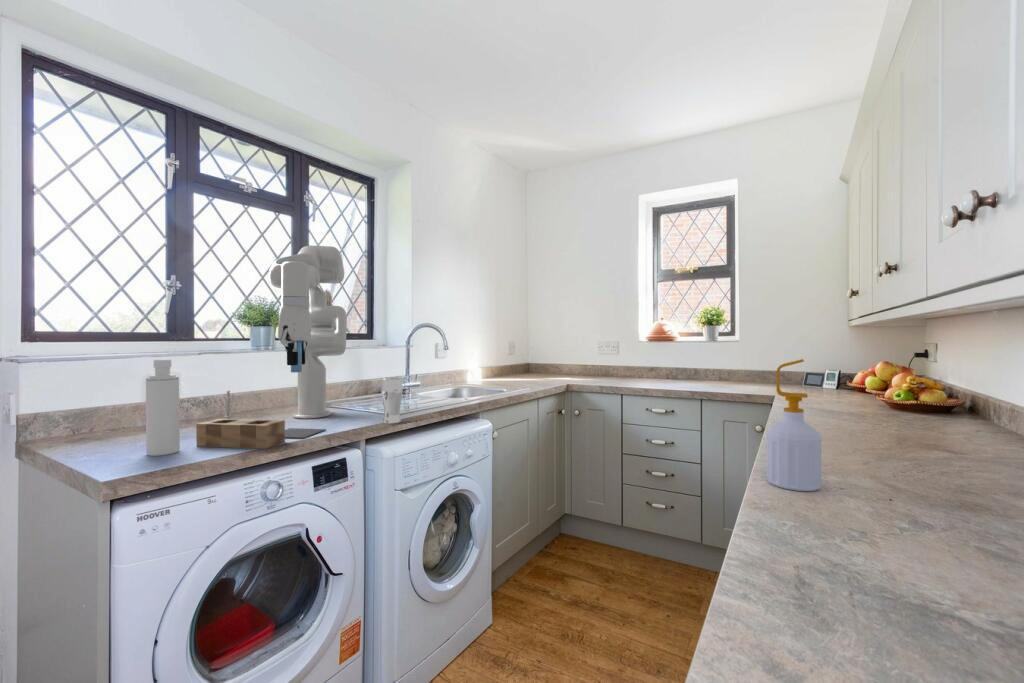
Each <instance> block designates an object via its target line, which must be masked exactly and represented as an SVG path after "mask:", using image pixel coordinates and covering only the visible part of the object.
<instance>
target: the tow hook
mask: <svg viewBox="0 0 1024 683" xmlns="http://www.w3.org/2000/svg"><path fill="white" fill-rule="evenodd" d="M230 392H231V391H230V390H227V391H226V397H225V413H224V414H225V416H224V419H231V397H230V396H231V393H230Z"/></svg>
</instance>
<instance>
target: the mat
mask: <svg viewBox="0 0 1024 683" xmlns="http://www.w3.org/2000/svg"><path fill="white" fill-rule="evenodd" d="M325 431H327V430H326V428H300V427H299V428H297V427H295V428H294V427H293V428H292V427H291V428H285V439H293V440H294V439H298V440H304V439H307V438H309V437H312V436H315V435H317V434H321V433H323V432H325Z"/></svg>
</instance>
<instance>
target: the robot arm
mask: <svg viewBox="0 0 1024 683" xmlns="http://www.w3.org/2000/svg"><path fill="white" fill-rule="evenodd" d="M268 279H269V282H270V283H271V285H272V286H273V287H274V288H276V289H277V288H278V289H281V307H280V310H279V314H278V324H277V325H278V326H277V338H278V340H279V342H280V344H281V345H282V346H283V347H284V348H285V352H286V365H287V366H291V365H298V352H296V349H297V341H302V372H297V412H293V414H292V415H293V418H295V419H319V418H324V417H329V416H331V411H329V410H327V408H330V407H331V405H332V404H331V402H329V401H328V402H327V368H326V366H325V364H324V362H323V361H322V360H321V359H320V358H319V357H337V356H342V355H344V354H345V352H346V347H347V326H348V324H347V322H348V320H347V312H346V310H345V309H344V307H342V306H340V305H327V303H328V296H327V295H326V294H327V293H325V292H324V291H323V289H322V288H321V287H319V286H318V285H319V284H332V285H333V284H340V283H341V284H342V282H343V281H344V279H345V269H344V262H343V256H342V254H341V252H340V250H339V249H338V248H337V247H334V246H332V245H331V246H329V245H328V246H327V245H305V246H303V247H302V248H300V250H299V251H298V252H297V254H293V255H288V256H284V257H280V258H277V259H275V260H274V262H273V263H272V264H271V266H270V268H269V272H268ZM291 340H292V341H291ZM291 343H293V346H292V344H291Z"/></svg>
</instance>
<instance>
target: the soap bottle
mask: <svg viewBox="0 0 1024 683" xmlns="http://www.w3.org/2000/svg"><path fill="white" fill-rule="evenodd" d="M804 361H805V360H804V359H803V358H802V359H798V360H794V361H790V362H789V361H788V362H784V363H782V364H780V365H779V366H778V367H777V369H776V393H777V395H779V396H780V397H784V398H785V401H787V402H788V407H783V418H782V419H781V420H780V421H779V422H776V423H774V424H773V425H771V426H770V427H768V429H767V431H766V480H767V482H768V483H769V484H770V485H773V486H774V487H778V488H780V489H784V490H790V491H796V492H814V491H819V490H820V488H821V487H822V436H821V433H820V432H819V431H818V430H817V429H816V428H814V427H813V426H812V425H810V424H808V423H807V422H806V421H805V419H804V408H800V406H799V405H800V404H799V402H802V401H803V398H804V399H806V398H808V397H809V396H808V394H807V393H803V392H802V393H801V392H784V391H782V390H781V388H780V371H781V369H783V368H785V367H788V366H792V365H795V364H801V363H803V362H804Z"/></svg>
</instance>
